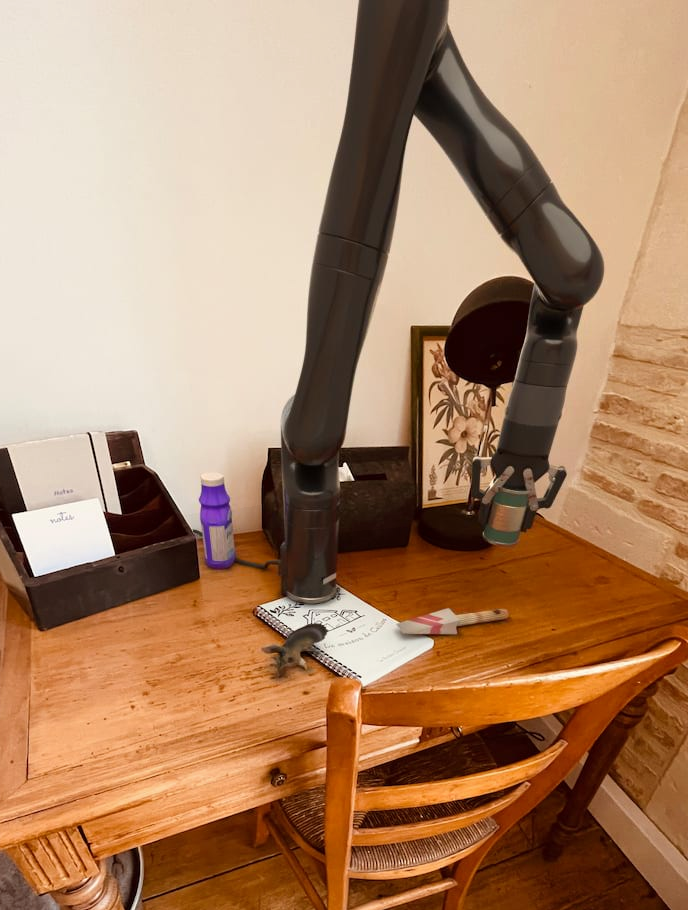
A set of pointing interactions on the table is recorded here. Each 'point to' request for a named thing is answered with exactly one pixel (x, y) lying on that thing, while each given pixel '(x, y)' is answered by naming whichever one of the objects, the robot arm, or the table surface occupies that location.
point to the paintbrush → (448, 621)
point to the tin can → (506, 516)
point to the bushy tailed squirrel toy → (296, 646)
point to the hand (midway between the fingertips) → (502, 527)
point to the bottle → (216, 521)
